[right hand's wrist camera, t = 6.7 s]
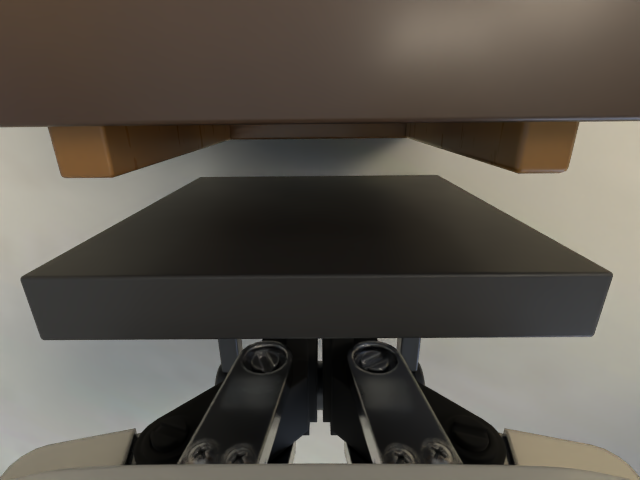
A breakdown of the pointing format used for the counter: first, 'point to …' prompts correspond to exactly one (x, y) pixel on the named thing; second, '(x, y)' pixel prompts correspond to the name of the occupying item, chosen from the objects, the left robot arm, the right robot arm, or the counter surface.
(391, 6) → the cabinet
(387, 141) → the counter surface
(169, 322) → the drawer
